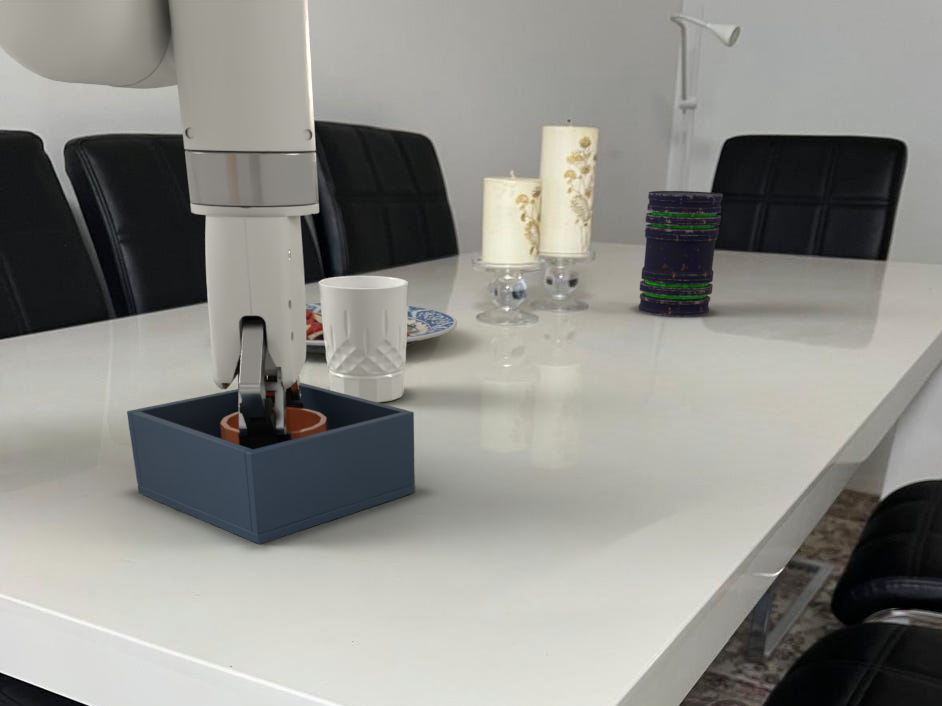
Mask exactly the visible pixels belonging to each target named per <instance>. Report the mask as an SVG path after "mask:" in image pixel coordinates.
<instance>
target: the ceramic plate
mask: <svg viewBox="0 0 942 706" xmlns="http://www.w3.org/2000/svg"><path fill="white" fill-rule="evenodd" d="M457 326H458V321H457V319H456V318H455V317H453V316H452V315H450V314H447V313H445V312H442V311H438V310H434V309H430V308H426V307H425V308H424V307H421V306H413V305H408V314H407V343H406V348H407V347H410V346H413V345H415V344H417V343H418V342H420V341H424V340H428V339H433V338H437V337H441V336H443V335H446V334H448V333H451V332H453V330H455V329H456V328H457ZM306 353H314V354H323V355H326V348H325V343H324V335H323V324H322V314H321V303H320V302H317V303H316V302H315V303H312V302H311V303H306Z"/></svg>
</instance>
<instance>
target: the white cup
mask: <svg viewBox="0 0 942 706" xmlns="http://www.w3.org/2000/svg"><path fill="white" fill-rule="evenodd" d="M318 292H319V303H321V314H322V324H323V335H324V343H325V348H326V354H325V360H326V363H327V364H326V365H327V368H328V382H329V390H331V391H335V392H339V393H343V394H346V395H350V396H354V397H358V398H362V399H366V400H369V401H373V402H377V403H384V402H385V403H386V402H391V401H394V400H398V399H400V398H402V396H403V395H404V394H405V369H404V368H405V366H406V361H407V347H406V343H407V314H408V306H409V281H408V280H406V279H402V278H399V277H391V276H381V275H345V276H344V275H343V276H334V277H328V278H327V277H326V278H323V279H321V280H319V281H318Z"/></svg>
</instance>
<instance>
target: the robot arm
mask: <svg viewBox="0 0 942 706" xmlns="http://www.w3.org/2000/svg"><path fill="white" fill-rule="evenodd" d="M309 21H310V19H309V1H308V0H0V48H1V49H2V50H3V52H5V54H6V55H8V56H9V57H10V58H11V59H13V60H14V61H15V62H17V63H18V64H19V65H20V66H22V67H23V68H24V69H26V70H28V71H29V72H32V73H34V74H36V75H38V76H40V77H42V78H44V79H48V80H51V81H54V82H62V83H68V84H84V85H98V86H108V87H113V88H126V89H138V90H139V89H141V90H142V89H145V90H147V89H159V88H167V87H173V86H177V93H178V102H179V114H180V122H181V130H182V139H183V140H182V141H183V149H184V150H185V151H184V155H185V157H184V158H185V164H186V165H185V166H186V173H187V174H186V175H187V183H188V193H189V201H190V213H191V214H194V215H200V216H201V215H202V216H205V227H204V228H205V231H204V234H205V237H204V242H205V243H204V245H205V247H204V249H205V277H206V278H205V279H206V291H207V292H206V293H207V294H206V296H207V297H206V298H207V309H208V323H209V337H210V339H209V340H210V353H211V354H210V355H211V356H210V357H211V370H212V380H213V382H214V384H215V385H216V386H217V387H218V388H219V389H220V390H227V389H228V388H229V387H230V386H231V384H232V383H233V382H234V381H235V379H236V378H237V389H238V404H239V434H238V435H239V445H241V446H244V447H247V448H250V449H257V448H261V447H265V446H269V445H273V444H277V443H281V442H285V441H289V440H292V433H291V432H286V407H294V408H303V409H304V402H293V400H301V387H300V383H301V381H300V375H301V372H302V369H303V367H304V365H305V362H306V357H307V352H306V304H307V303H306V284H305V282H306V281H305V266H304V265H305V264H304V252H303V251H304V250H303V249H304V247H303V238H302V237H303V236H302V223H301V216H310V215H312V214H313V215H315V214H319V213H320V202H319V201H320V199H319V183H318V182H319V181H318V167H317V166H318V165H317V152H315V151H317V149H316V148H317V147H316V132H315V131H316V130H315V112H314V111H315V110H314V95H313V78H312V77H313V75H312V58H311V57H312V56H311V43H310V42H311V40H310V37H311V36H310V22H309ZM273 407H275V410H274V408H273Z"/></svg>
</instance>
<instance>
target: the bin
mask: <svg viewBox="0 0 942 706" xmlns="http://www.w3.org/2000/svg"><path fill="white" fill-rule="evenodd" d="M300 387H301V400H293V402H304V409H309V410H313V411H316V412H320V413H322V414H323V415H324V416H325V417H327V429H328V431H325V432H321V433H317V434H313V435H309V436H305V437H301V438H297V439H293V440H289V441H285V442H281V443H277V444H273V445H269V446H265V447H261V448H257V449H250V448H247V447H244V446H241V445H238V444H235V443H232V442H229V441H226V440H223V439H222V436H221V427H220V422H221V421H222V419H223V418H224V417H226V416H228V415H230V414H233V413H235V412H239V404H238V388H236V389H230V390H225V391H221V392H217V393H210V394H206V395H201V396H196V397H190V398H186V399H180V400H176V401H171V402H165V403H160V404H157V405H151V406H147V407H141V408H135V409H130V410H127V411H126V416H127V422H128V429H129V435H130V442H131V449H132V456H133V465H134V470H135V477H136V478H135V479H136V484H137V491H138V494H140V495H142V496H145V497H147V498H150V499H151V500H154V501H156V502H158V503H161V504H163V505H166V506H168V507H169V508H172V509H175V510H177V511H181V512H182V513H185V514H186V515H189V516H191V517H194V518H197V519H199V520H201V521H203V522H206V523H208V524H210V525H212V526H215V527H218V528H220V529H223V530H225V531H227V532H229V533H231V534H232V533H233V534H234V535H237V536H239V537H241V538H244V539H246V540H248V541H251V542H253V543H256V544H258V545H261V544H264V543H266V542H269V541H273V540H276V539H279V538H282V537H284V536H285V537H286V536H288V535H292V534H294V533H298V532H300V531H303V530H307V529H309V528H313V527H315V526H318V525H322V524H324V523H327V522H330V521H334V520H337V519H340V518H342V517H345V516H348V515H351V514H355V513H358V512H361V511H364V510H367V509H369V508H372V507H375V506H378V505H382V504H385V503H388V502H391V501H394V500H397V499H400V498H403V497H406V496H409V495H411V494H415V492H416V485H415V484H416V483H415V478H416V477H415V412H414V411H411V410H408V409H404V408H400V407H396V406H392V405H388V404H385V403H382V402H378V403H377V402H373V401H369V400H366V399H362V398H358V397H354V396H350V395H346V394H343V393H339V392H335V391H331V390H330V389H327V388H323V387H320V386H317V385H316V386H315V385H313V384H312V385H311V384H307V383H304V382H300Z"/></svg>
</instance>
